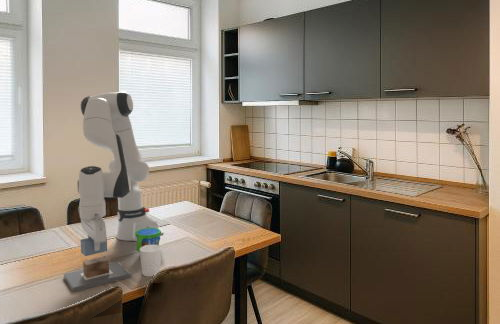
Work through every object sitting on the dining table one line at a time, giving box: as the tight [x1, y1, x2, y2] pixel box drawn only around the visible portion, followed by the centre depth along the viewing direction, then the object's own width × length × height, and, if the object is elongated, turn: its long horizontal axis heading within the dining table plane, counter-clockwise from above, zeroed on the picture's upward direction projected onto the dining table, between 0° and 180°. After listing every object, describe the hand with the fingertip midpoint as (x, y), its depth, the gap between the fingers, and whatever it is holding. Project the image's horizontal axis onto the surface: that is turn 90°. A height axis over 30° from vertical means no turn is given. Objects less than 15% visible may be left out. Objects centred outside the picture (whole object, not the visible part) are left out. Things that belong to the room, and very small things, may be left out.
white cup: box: [139, 244, 162, 277], centre depth 152 cm, size 8×8×10 cm
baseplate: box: [63, 261, 131, 293], centre depth 148 cm, size 20×14×2 cm
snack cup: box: [135, 228, 161, 253], centre depth 171 cm, size 16×10×10 cm
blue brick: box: [80, 237, 108, 257], centre depth 147 cm, size 8×4×5 cm, turn 132°
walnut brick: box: [82, 256, 110, 278], centre depth 148 cm, size 8×4×5 cm, turn 127°
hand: (94, 247), depth 147 cm, fingers closed on blue brick, 5 cm apart
